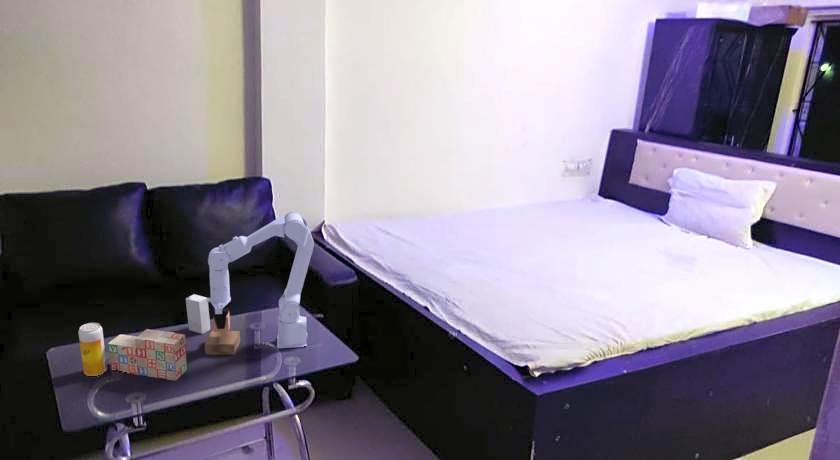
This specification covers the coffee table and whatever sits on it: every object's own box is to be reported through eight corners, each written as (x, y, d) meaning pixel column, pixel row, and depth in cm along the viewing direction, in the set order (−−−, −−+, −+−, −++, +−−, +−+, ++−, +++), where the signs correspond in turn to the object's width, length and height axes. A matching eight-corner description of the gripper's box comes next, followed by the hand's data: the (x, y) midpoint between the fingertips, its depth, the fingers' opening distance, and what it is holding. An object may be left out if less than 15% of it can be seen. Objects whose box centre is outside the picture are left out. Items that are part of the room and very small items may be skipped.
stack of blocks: (110, 371, 182) (105, 334, 178) (123, 360, 188) (119, 324, 184) (176, 381, 178) (173, 343, 175) (188, 370, 184) (185, 333, 180)
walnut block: (240, 341, 203) (239, 331, 201) (234, 355, 194) (233, 344, 193) (212, 341, 202) (211, 330, 201) (205, 355, 193) (204, 344, 192)
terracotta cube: (230, 325, 198) (229, 311, 197) (228, 331, 194) (228, 317, 193) (215, 325, 197) (214, 311, 196) (213, 332, 193) (213, 318, 192)
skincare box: (211, 329, 209) (209, 297, 205) (201, 335, 205) (199, 302, 201) (197, 325, 211) (194, 293, 207) (187, 330, 207) (185, 298, 203)
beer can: (85, 368, 182) (79, 323, 177) (108, 365, 184) (102, 321, 179) (82, 379, 177) (76, 333, 172) (106, 376, 179) (100, 330, 174)
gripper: (209, 277, 197) (211, 315, 201) (203, 295, 184) (206, 336, 188) (231, 276, 198) (233, 314, 203) (228, 294, 185) (230, 334, 189)
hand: (221, 324), depth 195 cm, fingers closed on terracotta cube, 4 cm apart
